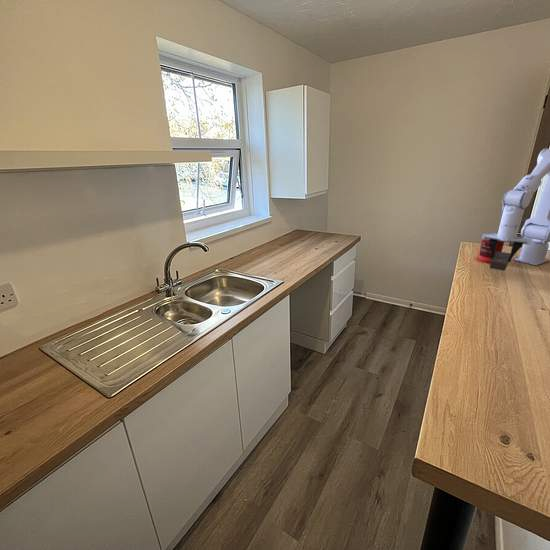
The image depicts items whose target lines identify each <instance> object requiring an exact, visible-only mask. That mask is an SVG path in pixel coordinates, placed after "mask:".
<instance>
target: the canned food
mask: <svg viewBox="0 0 550 550" xmlns="http://www.w3.org/2000/svg"><path fill="white" fill-rule="evenodd" d="M485 234H496V232H495V233H493V232H487V233H486V232H485ZM488 242H489V240H487V239H485V240H483V239H482V238H481V243H480V248H479V252H478V256H477V259H478V261H480V262H482V263H486V264H491V261H492V260H491V250H490V246H489V243H488ZM504 244H505V242H503V241H498V243H497V246H496V250H495V254H496V252H497V251H498V252H503V248H504Z"/></svg>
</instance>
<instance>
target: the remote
mask: <svg viewBox="0 0 550 550" xmlns="http://www.w3.org/2000/svg"><path fill="white" fill-rule="evenodd" d="M510 254H511V252H505V251H504V252H503V251H502V252H498V251H497V252H496V254H495V256H494V257H493V259H492V261H491V263H489V269H492V270H499V271H504V272H505V271H506V269H507V267H508V264H509V262H508V260H509V257H510Z"/></svg>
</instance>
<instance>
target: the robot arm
mask: <svg viewBox="0 0 550 550" xmlns="http://www.w3.org/2000/svg"><path fill="white" fill-rule="evenodd" d="M537 156H538V157H537V159H536V166H535V167H534V168H533V170H532V171H531V173H530V174H527V175H525V176H523V177H522V179H521V180H520V181H519V182H518V183H517V184H516V185H515V186H514V188H513V189H510V190H508V191H506V192H505V193H504V195H503V197H502V200H501V205H502V207H501V211H502V215H501V219H500V222H499V227H498V231H497V233H495V234H486V232H485V233H483V234H482V235H481V236H482V237H481V240H482V239H483V240H485V239H487V240H489V242H488V243H489V246H490V250H491V260H492V259H493V257H494V256H495V250H496V246H497V243H498V241H503V242H504V243H512V247H511V251H510V253H511V254H510V257H509V260H508V263H511V262H512V259H513V257H514V256H515V255H516V253H517V252H518V251H519V250H520V249H521V251H520V254H519V257H516V258H514V261H516V262H520V263H525V264H529V265H534V266H538V265H541V264H543V263H545V262H547V261H548V259H546V257H547V254H548V250H549V248H550V246H549V245H550V244H549V243H550V148H547V147H546V148H543V149H542V150H540V152H539V154H538V155H537ZM546 175H547V178H546V182H545V184H544V187H543V191H542V193H541V197H540V200H539V203H538V206H537V209H536V212H535V214H534V216H532V217H529V218H528V219H526V220H525V222H524V224H523V226H522V228H521V230H520V226H521V224H522V223H521V222H522V219H523V216H524V212H525V209H527V207H528V206H529V205H530V203H531V201H532V199H533V196H534V193H535V192H536V191H537V190H538V189H539V187H540V186H541V185H542V183H543V182H542V179H543V178H544V177H546ZM519 230H520V236H518V233H519Z"/></svg>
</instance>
